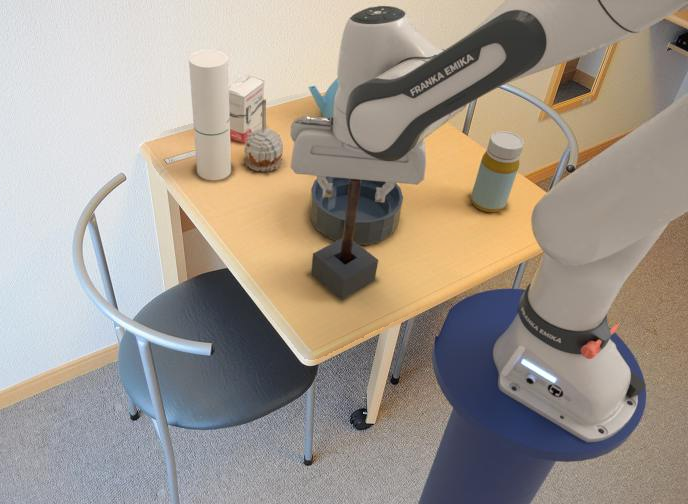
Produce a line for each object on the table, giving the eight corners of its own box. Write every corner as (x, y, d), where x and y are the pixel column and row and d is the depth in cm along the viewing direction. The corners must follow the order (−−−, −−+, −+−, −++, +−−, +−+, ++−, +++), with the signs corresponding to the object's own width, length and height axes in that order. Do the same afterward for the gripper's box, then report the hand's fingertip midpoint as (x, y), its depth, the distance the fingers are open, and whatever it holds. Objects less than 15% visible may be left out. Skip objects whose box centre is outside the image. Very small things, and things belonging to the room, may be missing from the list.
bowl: (416, 223, 127) (421, 198, 123) (351, 259, 119) (355, 234, 115) (355, 180, 137) (358, 156, 133) (291, 211, 129) (293, 187, 125)
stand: (374, 280, 116) (378, 259, 112) (341, 300, 112) (344, 279, 108) (344, 255, 120) (346, 235, 117) (310, 274, 116) (312, 253, 113)
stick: (350, 278, 116) (364, 177, 101) (342, 282, 115) (355, 181, 100) (343, 272, 117) (356, 171, 102) (335, 276, 116) (347, 175, 101)
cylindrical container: (235, 163, 140) (232, 52, 123) (225, 182, 135) (221, 69, 117) (203, 158, 141) (196, 47, 124) (192, 177, 136) (183, 64, 118)
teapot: (371, 145, 147) (377, 100, 139) (304, 121, 153) (307, 77, 145) (399, 115, 156) (407, 72, 149) (336, 94, 163) (340, 51, 155)
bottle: (474, 189, 136) (493, 126, 126) (508, 199, 134) (529, 136, 124) (466, 207, 132) (484, 143, 121) (500, 218, 130) (522, 154, 119)
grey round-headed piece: (258, 148, 144) (258, 86, 134) (288, 160, 141) (291, 97, 131) (238, 165, 139) (236, 102, 129) (269, 177, 136) (270, 114, 126)
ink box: (244, 144, 145) (243, 96, 137) (225, 137, 147) (223, 89, 139) (264, 126, 151) (265, 79, 142) (246, 120, 152) (245, 73, 144)
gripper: (289, 126, 92) (285, 203, 102) (435, 139, 91) (417, 216, 101) (293, 103, 97) (289, 179, 106) (432, 115, 96) (416, 191, 105)
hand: (353, 197), depth 104 cm, fingers open, 7 cm apart
